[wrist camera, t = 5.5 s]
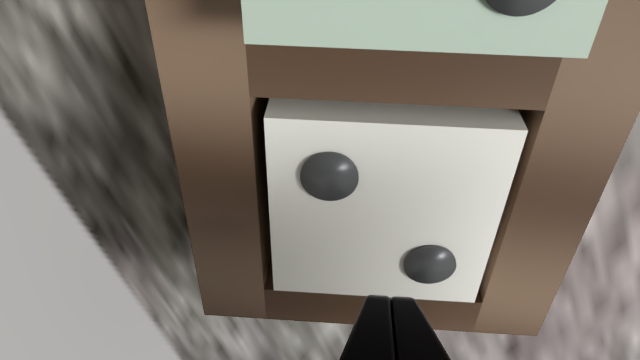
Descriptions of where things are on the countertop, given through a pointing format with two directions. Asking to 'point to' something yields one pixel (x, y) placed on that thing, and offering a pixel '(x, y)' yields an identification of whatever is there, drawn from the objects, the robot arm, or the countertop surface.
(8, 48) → the countertop surface
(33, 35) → the countertop surface
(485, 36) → the three dot button
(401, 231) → the two dot button
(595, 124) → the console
